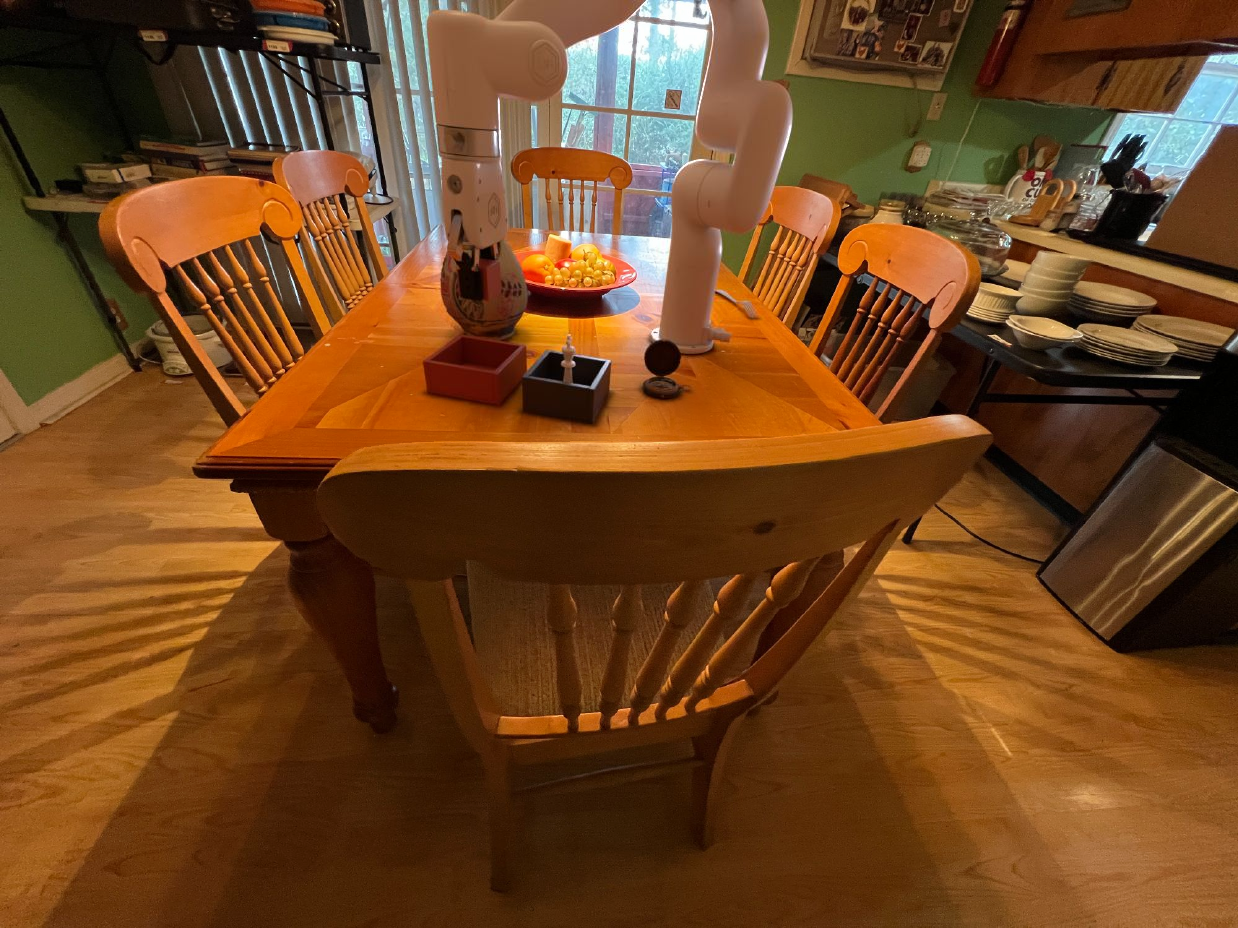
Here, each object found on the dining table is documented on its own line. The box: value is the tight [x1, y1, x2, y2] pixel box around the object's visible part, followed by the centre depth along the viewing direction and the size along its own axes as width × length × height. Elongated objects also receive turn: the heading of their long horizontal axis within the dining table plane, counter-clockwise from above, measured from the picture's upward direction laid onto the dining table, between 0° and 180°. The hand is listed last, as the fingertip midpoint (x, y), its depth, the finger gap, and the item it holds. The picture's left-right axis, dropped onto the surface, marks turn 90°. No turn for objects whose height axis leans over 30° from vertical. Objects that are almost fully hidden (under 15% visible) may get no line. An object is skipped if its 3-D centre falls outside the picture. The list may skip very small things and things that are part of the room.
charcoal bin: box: [521, 349, 612, 425], centre depth 76 cm, size 11×11×6 cm
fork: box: [715, 289, 758, 319], centre depth 126 cm, size 3×21×3 cm, turn 15°
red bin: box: [422, 333, 528, 406], centre depth 79 cm, size 12×12×5 cm
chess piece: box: [561, 334, 577, 383], centre depth 74 cm, size 5×5×10 cm
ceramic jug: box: [439, 237, 529, 341], centre depth 88 cm, size 17×15×30 cm
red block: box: [456, 258, 501, 301], centre depth 72 cm, size 4×4×4 cm
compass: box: [642, 339, 692, 399], centre depth 82 cm, size 8×8×7 cm
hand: (480, 292), depth 73 cm, fingers closed on red block, 4 cm apart
